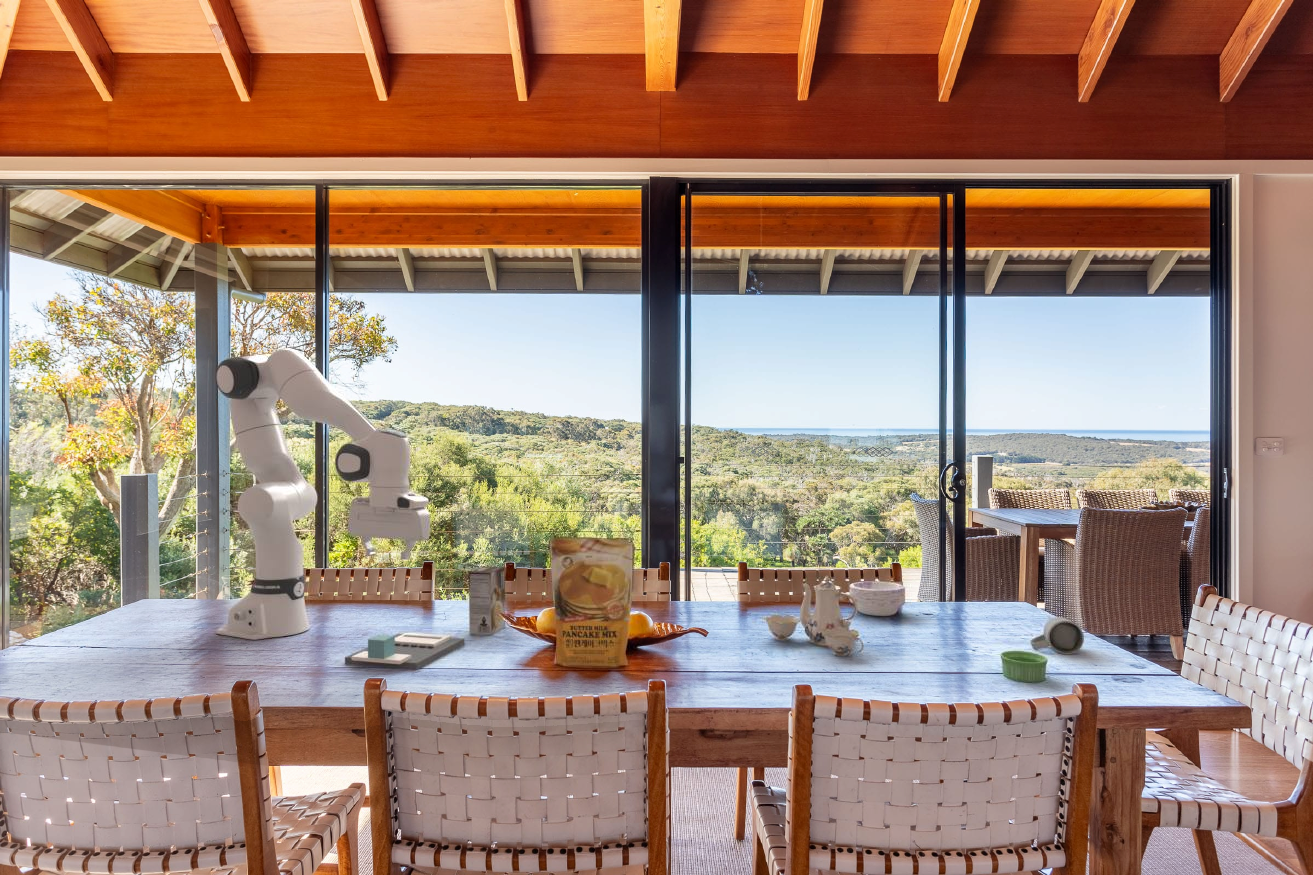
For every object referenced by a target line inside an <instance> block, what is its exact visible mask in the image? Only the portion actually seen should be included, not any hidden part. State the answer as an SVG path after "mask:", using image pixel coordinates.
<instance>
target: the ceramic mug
mask: <svg viewBox="0 0 1313 875" xmlns="http://www.w3.org/2000/svg"><path fill="white" fill-rule="evenodd" d="M1084 642H1085V634H1084V632H1083V631H1082V628H1081V627H1080V626H1079V624H1077V623H1075V622H1074V621H1072V620H1070V619H1069V618H1066V617H1062V616H1055V617H1051V618H1050V619H1048V621H1046V623H1045V624H1044V626H1043V633H1042V634H1040V635H1038V636H1035V637H1034V638H1032V639H1031V640H1030V645H1031V647H1032V649H1034V650H1039V649H1043V648H1048V647H1051V649H1052V650H1054V651H1055V652H1056V653H1059V654H1061V655H1072V654H1075V653H1078V651H1080V650H1081V649H1082V647H1083V645H1084Z"/></svg>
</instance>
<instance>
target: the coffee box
mask: <svg viewBox="0 0 1313 875" xmlns="http://www.w3.org/2000/svg"><path fill="white" fill-rule="evenodd" d="M468 604H469V607H468V610H469V611H468V614H469V620H468V621H469V624H468V625H469V635H477V634H479V635H481V636H493V635H494V634H497V632H499V631H501V630H503V629H504V628H506V620H505V621H504V620H503V618H502V617H501V616H500V615H499V614H500V613H504V614H505V615H506V567H505V566H493V565H492V566H488V565H486V566H481V567H479V568H476V569H473V570H471V571H469V572H468ZM479 635H478V636H479Z"/></svg>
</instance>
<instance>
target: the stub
mask: <svg viewBox="0 0 1313 875" xmlns="http://www.w3.org/2000/svg"><path fill="white" fill-rule="evenodd" d="M367 648H368V651H363V652H361V653H359V654H356V655H354V656H352V660H355V661H367V662H379V663H391V664H401V663H403V662H405V661H407V660H409V659H411V655H405V654H395V635H389V634H388V635H387V634H386V635H385V634H378V635H375V636H373V637H372V636H371V637H370V638H368V639H367Z"/></svg>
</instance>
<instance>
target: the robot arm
mask: <svg viewBox="0 0 1313 875" xmlns="http://www.w3.org/2000/svg"><path fill="white" fill-rule="evenodd" d="M215 383H216V385H217V388H218V390H219V391H220V392H221V394H222V395H223V396H224V397H226V398H228V399H230V401H229V412H230V419H231V425H232V429H233V434H234V436H235V440H236V443H237V446H238V451H239V454H240V457H241V460H242V464H243V466H244V467H245V468H246V469H247V470H249V471H250V472H251V473H252V474H253V475H254V476H255V478H256V480H257V481H258V483H257V484H255V485H253V486H251V487H248V488H247V489H245V490H244V491H242V493H241V494H240V495H239V498H238V501H237V512H238V514H239V516H240V517H241V519H242V520H243V521H244V522H245V523H246V524H247V525H248V527H249V530H250V533H251V536H252V540H253V543H254V548H255V564H256V565H255V573H256V574H255V575H256V576H255V578H253V579H252V580H248V581H246V583H247V584H246V586H247V587H248V586H251V588H250V591H249V593H248V594H246V595H245V596H244V597H243V598H241V599H240V600H239V601H238V602H237V603H235V604H234V605H232V607H230V609H229V612H228V614H227V624H226V625H223V626H221V627H219V628H218V629H217V630H216V634H218V635H223V636H228V637H236V638H241V639H247V640H255V641H256V640H262V639H268V638H278V637H284V636H287V637H288V636H291V635H296V634H300V633H303V632H306V631H308V630H310V629H311V625H310V621H309V618H308V614H307V608H306V603H305V602H306V601H305V590H306V575H305V574H304V545H303V543H302V542H301V541H300V540H299V539H298V537H297V534H296V532H295V528H294V523H293V521H298V520H301V519H303V518H304V517H306V516H308V515H309V514H310V513H312V512H313V511H314V510H315V508H316V506H317V503H318V493H317V491H316V489H315V488H314V486H313V485H312V484H311V483H309V482H308V481H307V480H306V479H305V477H304V476H303V474H302V472H301V471H300V469H299V468H298V466H297V464H296V463H295V461H294V458H293V457H292V454H291V452H290V450H289V447H288V444H287V440H286V438H285V435H284V434H285V433H284V431H283V428H282V424H281V422H280V418H279V415H278V413H277V409H276V405H277V402H278V400H279V399H280V400H281V401H282V402H283V403H284V405H285V406H286V407H287V409H289V410H290V411H291V412H292V413H293V414H295V415H296V416H298V417H299V418H301V419H303V420H307V421H310V422H315V423H319V424H320V423H321V424H323V425H324V424H325V425H327V426H332V427H334V428H336V429H338V430H341V431H343V432H344V433H345V434H347V435H348V436H349V438H351V439H352V440H353V441H352V442H348V443H344V444H343V445H342V446H340V448H339V449H338V451H337V453H336V455H335V459H334V465H335V470H336V472H337V474H338V476H339V477H340V478H341V480H343V481H346V482H350V483H369V496H364V497H363V496H356V497H355V498H353V499H352V500H351V502H350V511H349V515H348V523H347V532H348V534H349V535H350V536H351V537H360V538H361V539H360V540H361V541H360V542H361V544H362V545H363V547H364V549H365V556H366V557H374V556H375V555H376V547H373V546H372V542H371V541H373V538H375V539H376V538H377V539H384V540H385V539H387V540H400V541H404V545H405V546H406V547H405V548H404V551H400V559H401V560H410V559H411V552H412V551H413V549H414V546H415V545H416V542H423V541H426V540H428V539H429V537H430V536H431V515H430V512H429V510H428V508H427V507H429V502H430V501H429V499H428V497H425V496H423V495H421V494H418V493H416V492H415V491H412V490H410V486H411V485H410V481H409V474H410V473H409V472H410V469H411V444H410V440H409V437H408V434H406V433H405V432H403V431H401V430H397V429H392V428H382V427H381V428H378V427H377V426H376V425H375V424H374V423H373V422H372V420H370V419H369V418H368V417H367V416H366V415H365V414H364V413H363V412H362V411H361V410H360V409H359V408H358V407H356V405H354V403H352V402H351V401H350V400H349V399H347V398H346V397H345V396H344V395H343V394H341V393H340V392H339V391H338V390H337V389H336V388H335V387H334V386H333V385H332V384H331V383H330V382H329V381H328V380H327V379H326V378H325V376H323V374H322V373H321V372H320V370H319V369H318V368H316V366H315V365H314V364H313V363H312V362H311V361H310V360H309V359H308V358H306V356H304V355H303V353H301V352H299V351H298V350H296V349H294V348H289V347H286V348H281V349H278V350H275V351H274V352H271V353H259V354H252V355H246V356H244V355H243V356H233V357H229V358H226V359H224V360H222V361H220V363H219V364H218V366H217V368H216V371H215Z"/></svg>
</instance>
